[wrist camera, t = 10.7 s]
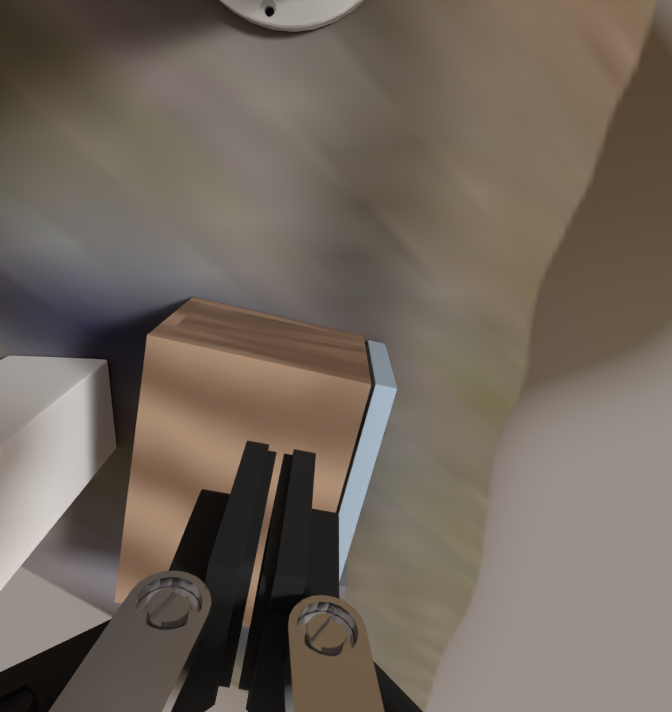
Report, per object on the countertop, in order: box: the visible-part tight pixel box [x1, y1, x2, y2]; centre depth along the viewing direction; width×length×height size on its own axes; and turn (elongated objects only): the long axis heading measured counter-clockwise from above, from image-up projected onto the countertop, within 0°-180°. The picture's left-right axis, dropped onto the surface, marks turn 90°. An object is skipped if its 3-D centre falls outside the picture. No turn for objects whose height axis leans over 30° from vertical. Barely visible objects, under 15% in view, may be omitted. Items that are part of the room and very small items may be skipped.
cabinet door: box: [336, 340, 397, 598], centre depth 35 cm, size 18×2×8 cm, turn 167°
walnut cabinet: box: [114, 297, 371, 627], centre depth 35 cm, size 18×12×9 cm, turn 167°
